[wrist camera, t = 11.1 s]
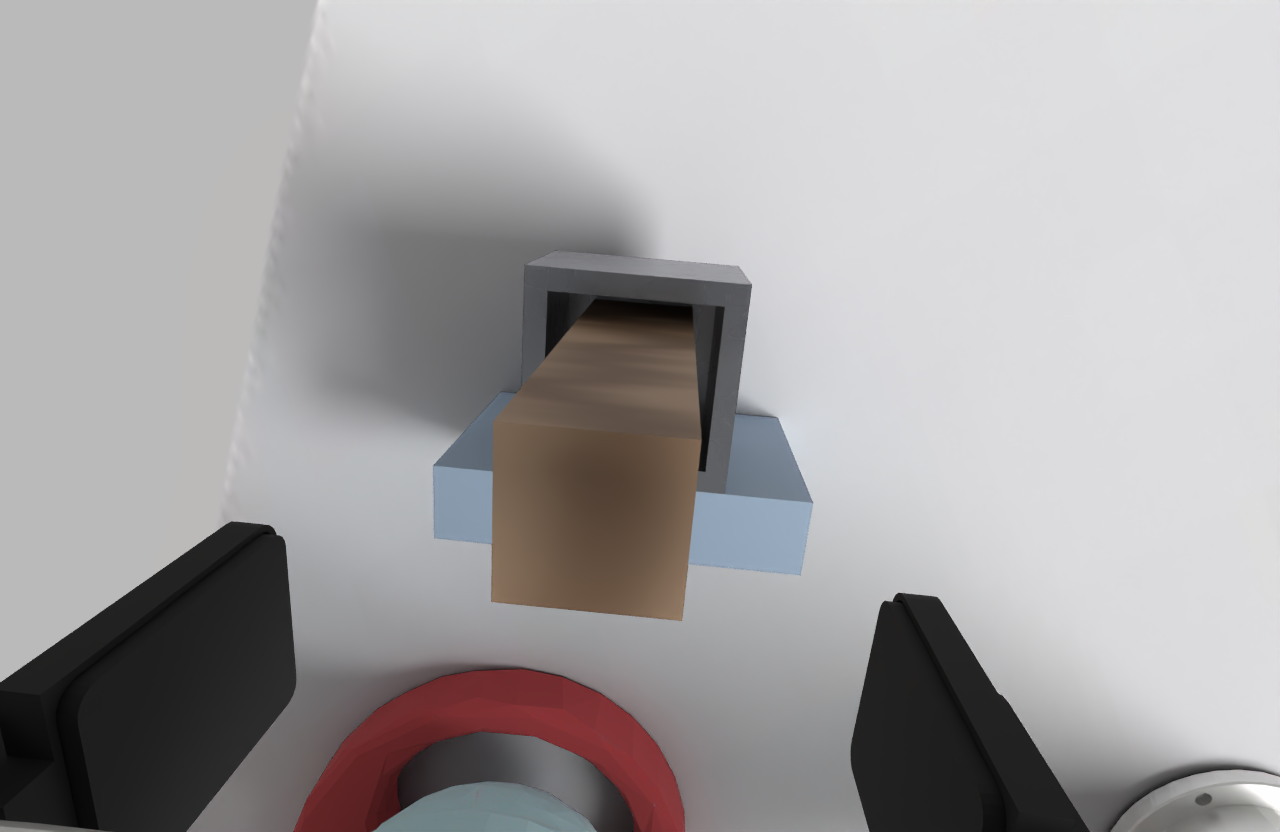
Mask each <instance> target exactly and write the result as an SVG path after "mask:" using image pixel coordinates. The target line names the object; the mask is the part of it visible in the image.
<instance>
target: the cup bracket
mask: <svg viewBox="0 0 1280 832" xmlns="http://www.w3.org/2000/svg"><path fill="white" fill-rule="evenodd" d="M751 288H752V284H751V283H750V281H749V280H748V279H747V277H746V276H745V274H744V273H743V272H742V270H741V269H740V268H739V266H730V265H719V264H707V263H696V262H684V261H673V260H661V259H650V258H638V257H627V256H615V255H604V254H592V253H581V252H570V251H558V250H556V251H553V252H551V253H549V254H547V255H545V256H543V257H540V258H538V259H536V260H534V261H532V262H530V263H527V264H525V273H524V308H523V344H522V380H521V387H522V386H523V385H524V383H525V382H526V381H527V380H528V379H529V377H530V376H531V375H532V374H533V373H534V371H535V370H536V369H537V368H538V367H539V365H540V364H541V363H542V362H543V361H544V359H545V358H546V357H547V356H548V355H549V353H550V352H551V351H552V350H553V349H554V347H555V346H556V345H557V344H558V343H559V341H560V340H561V339H562V338H563V337H564V335H565V334H566V333H567V332H568V331H569V329H570V328H571V327H572V326H573V325H574V323H575V322H576V321H577V320H578V319H579V317H580V316H581V315H582V314H583V313H584V311H585V310H586V309H587V308H588V307H589V305H590V304H591V303H592V302H593V300H594V299H602V300H613V301H625V302H637V303H649V304H661V305H673V306H685V307H692V309H693V324H694V338H695V353H696V367H697V381H698V396H699V410H700V425H701V439H702V441H701V450H700V459H699V468H698V478H697V487H696V492H706V493H717V494H725V491H726V483H727V475H728V467H729V460H730V452H731V444H732V436H733V429H734V421H735V413H736V405H737V397H738V390H739V382H740V374H741V366H742V358H743V351H744V343H745V335H746V327H747V320H748V312H749V304H750V296H751Z"/></svg>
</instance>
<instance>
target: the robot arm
mask: <svg viewBox="0 0 1280 832" xmlns="http://www.w3.org/2000/svg"><path fill="white" fill-rule="evenodd" d="M295 686H296V666H295V654H294V642H293V630H292V617H291V605H290V593H289V581H288V569H287V556H286V545H285V541H284V539H283V537H281V536H279V535H276V532H275V530H274V528H273V527H271V526H270V525H262V524H253V523H244V522H230V523H228V524H226V525H225V526H223V527H222V528H220V529H219V530H217V531H216V532H215V533H213V534H212V535H210V536H209V537H207V538H206V539H205V540H203V541H202V542H200V543H199V544H197V545H196V546H195V547H193V548H192V549H190V550H189V551H188V552H186V553H185V554H183V555H182V556H180V557H179V558H178V559H176V560H175V561H173V562H172V563H170V564H169V565H167V566H166V567H165V568H163V569H162V570H160V571H159V572H157V573H156V574H155V575H153V576H152V577H150V578H149V579H147V580H146V581H145V582H143V583H142V584H140V585H139V586H137V587H136V588H135V589H133V590H132V591H130V592H129V593H128V594H126V595H125V596H123V597H122V598H120V599H119V600H118V601H116V602H115V603H113V604H112V605H110V606H109V607H107V608H106V609H105V610H103V611H102V612H100V613H99V614H97V615H96V616H95V617H93V618H92V619H90V620H89V621H87V622H86V623H85V624H83V625H82V626H81V627H79V628H78V629H76V630H75V631H73V632H72V633H70V634H69V635H68V636H66V637H65V638H63V639H62V640H60V641H59V642H58V643H56V644H55V645H53V646H52V647H50V648H49V649H47V650H46V651H45V652H43V653H42V654H40V655H39V656H38V657H36V658H35V659H33V660H32V661H30V662H29V663H27V664H26V665H25V666H23V667H22V668H20V669H19V670H18V671H16V672H15V673H13V674H12V675H10V676H9V677H8V678H6V679H5V680H3V681H2V682H0V832H186V831H187V830H188V829H189V827H190V826H191V825H192V824H193V822H194V821H195V820H196V819H197V817H198V816H199V815H200V814H201V812H202V811H203V810H204V809H205V807H206V806H207V805H208V804H209V802H210V801H211V800H212V799H213V797H214V796H215V795H216V794H217V792H218V791H219V790H220V789H221V787H222V786H223V785H224V784H225V782H226V781H227V780H228V779H229V777H230V776H231V775H232V773H233V772H234V771H235V770H236V768H237V767H238V766H239V765H240V763H241V762H242V761H243V760H244V758H245V757H246V756H247V755H248V753H249V752H250V751H251V750H252V748H253V747H254V746H255V745H256V743H257V742H258V741H259V740H260V738H261V737H262V736H263V735H264V733H265V732H266V731H267V730H268V728H269V727H270V726H271V725H272V723H273V722H274V721H275V720H276V718H277V717H278V716H279V715H280V713H281V712H282V711H283V710H284V708H285V707H286V706H287V705H288V703H289V702H290V700H291V698H292V696H293V693H294V690H295ZM851 766H852V771H853V775H854V778H855V782H856V785H857V789H858V792H859V796H860V800H861V803H862V807H863V810H864V814H865V817H866V821H867V824H868V828H869V832H1089V830H1088V828H1087V827H1086V825H1085V824H1084V822H1083V820H1082V819H1081V817H1080V816H1079V814H1078V812H1077V811H1076V809H1075V808H1074V806H1073V804H1072V803H1071V801H1070V800H1069V798H1068V797H1067V795H1066V793H1065V792H1064V790H1063V789H1062V787H1061V785H1060V784H1059V782H1058V781H1057V779H1056V777H1055V776H1054V774H1053V773H1052V771H1051V769H1050V768H1049V766H1048V765H1047V763H1046V762H1045V760H1044V758H1043V757H1042V755H1041V754H1040V752H1039V750H1038V749H1037V747H1036V746H1035V744H1034V742H1033V741H1032V739H1031V738H1030V736H1029V734H1028V733H1027V731H1026V730H1025V728H1024V727H1023V725H1022V723H1021V722H1020V720H1019V719H1018V717H1017V715H1016V714H1015V712H1014V711H1013V709H1012V707H1011V706H1010V704H1009V703H1008V702H1007V700H1006V699H1005V698H1004V697H1003V696H1002V695H1000V694H998V693H997V691H996V690H995V688H994V686H993V685H992V683H991V681H990V680H989V678H988V677H987V675H986V673H985V672H984V670H983V669H982V667H981V665H980V664H979V662H978V660H977V659H976V657H975V656H974V654H973V652H972V651H971V649H970V647H969V646H968V644H967V643H966V641H965V639H964V638H963V636H962V635H961V633H960V631H959V630H958V628H957V626H956V625H955V623H954V622H953V620H952V618H951V617H950V615H949V614H948V612H947V610H946V609H945V607H944V605H943V604H942V602H941V601H940V600H939V599H938V597H933V596H924V595H915V594H905V593H898V594H896V595H895V597H894V599H893V602H890V601H884V602H883V603H882V605H881V607H880V611H879V615H878V620H877V625H876V629H875V634H874V639H873V644H872V648H871V653H870V658H869V662H868V667H867V672H866V677H865V681H864V686H863V691H862V695H861V700H860V705H859V710H858V714H857V719H856V724H855V728H854V733H853V738H852V743H851ZM1111 832H1280V777H1278V776H1275V775H1271V774H1267V773H1264V772H1257V771H1248V770H1218V771H1211V772H1205V773H1200V774H1194V775H1191V776H1188V777H1185V778H1182V779H1179V780H1175V781H1172V782H1170V783H1168V784H1166V785H1164V786H1162V787H1160V788H1158V789H1156V790H1154V791H1152V792H1151V793H1149V794H1148V795H1146V796H1145V797H1143V798H1142V799H1140V800H1139V801H1137V802H1136V803H1135V804H1134V805H1133V806H1132V807H1131V808H1129V809H1128V810H1127V811H1126V812H1125V813H1124V814H1123V815H1122V816H1121V818H1120V819H1119V820H1118V822H1117V823H1116V824H1115V826H1114V827H1113V829H1112V830H1111Z"/></svg>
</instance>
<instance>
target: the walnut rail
mask: <svg viewBox="0 0 1280 832" xmlns="http://www.w3.org/2000/svg"><path fill="white" fill-rule="evenodd" d="M701 441H702V439H701V425H700V410H699V396H698V381H697V367H696V353H695V338H694V324H693V309H692V307H685V306H673V305H661V304H649V303H637V302H625V301H613V300H602V299H594V300H593V302H592V303H591V304H590V305H589V307H588V308H587V309H586V310H585V311H584V313H583V314H582V315H581V316H580V317H579V319H578V320H577V321H576V322H575V323H574V325H573V326H572V327H571V328H570V329H569V331H568V332H567V333H566V334H565V335H564V337H563V338H562V339H561V340H560V341H559V343H558V344H557V345H556V346H555V347H554V349H553V350H552V351H551V352H550V353H549V355H548V356H547V357H546V358H545V359H544V361H543V362H542V363H541V364H540V365H539V367H538V368H537V369H536V370H535V371H534V373H533V374H532V375H531V376H530V377H529V379H528V380H527V381H526V382H525V383H524V385H523V386H522V387H521V388H520V389H519V391H518V392H517V393H516V394H515V395H514V397H513V398H512V399H511V400H510V401H509V403H508V404H507V405H506V406H505V408H504V409H503V410H502V411H501V412H500V414H499V415H498V416H497V417H496V418H495V420H494V421H493V485H492V592H491V602H497V603H507V604H517V605H527V606H537V607H547V608H558V609H568V610H578V611H588V612H598V613H608V614H618V615H628V616H638V617H648V618H658V619H668V620H678V621H682V617H683V607H684V598H685V589H686V580H687V570H688V561H689V552H690V542H691V533H692V524H693V515H694V505H695V496H696V487H697V478H698V468H699V459H700V450H701Z"/></svg>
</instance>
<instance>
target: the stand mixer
mask: <svg viewBox="0 0 1280 832" xmlns="http://www.w3.org/2000/svg"><path fill="white" fill-rule="evenodd" d="M480 731H481V732H492V733H503V734H514V735H525V736H535V737H538V738H540V739H542V740H545V741H547V742H549V743H552V744H554V745H556V746H559V747H561V748H564V749H566V750H568V751H571V752H573V753H575V754H578V755H580V756H581V757H583V758H585V759H586V760H588V761H590V762H591V763H592V764H593V765H594V766H595V767H596V768H598V769H599V770H600V771H601V772H602V773H603V774H604V775H605V776H606V777H607V778H608V779H609V780H610V781H611V782H612V783H613V784H614V785H615V786H616V787H617V788H618V790H619V792H620V794H621V795H622V797H623V799H624V801H625V802H626V804H627V806H628V808H629V809H630V811H631V813H632V815H633V823H634V832H685V816H684V808H683V805H682V801H681V797H680V794H679V790H678V786H677V783H676V779H675V776H674V774H673V772H672V771H671V769H670V767H669V765H668V763H667V761H666V759H665V758H664V756H663V754H662V752H661V750H660V748H659V747H658V745H657V744H656V743H655V742H654V740H653V739H652V738H651V737H650V736H649V735H648V734H647V732H646V731H645V730H644V729H643V728H642V727H641V726H640V724H639V723H638V722H637V721H636V720H635V719H634V718H633V717H632V716H631V715H629V714H628V713H627V712H625V711H624V710H623V709H621V708H620V707H618V706H617V705H616V704H614V703H613V702H612V701H610V700H609V699H608V698H606V697H605V696H603V695H602V694H600V693H598V692H595V691H593V690H591V689H589V688H586V687H584V686H582V685H580V684H577V683H575V682H573V681H571V680H568V679H566V678H564V677H560V676H555V675H550V674H545V673H540V672H535V671H530V670H525V669H509V670H485V671H470V672H465V673H459V674H454V675H449V676H443V677H440V678H438V679H435V680H433V681H431V682H429V683H426V684H424V685H422V686H420V687H417V688H415V689H413V690H411V691H408V692H406V693H404V694H403V695H401V696H399V697H397V698H396V699H394V700H392V701H390V702H389V703H387V704H385V705H383V706H382V707H380V708H378V709H377V710H376V711H375V712H374V713H373V714H372V715H370V716H369V717H368V718H367V719H366V720H365V721H364V722H363V723H362V724H361V725H360V726H359V727H358V728H357V729H356V730H355V731H354V732H353V733H351V734H350V735H349V736H348V737H347V738H346V739H345V740H344V741H343V743H342V744H341V746H340V747H339V749H338V750H337V752H336V753H335V755H334V756H333V758H332V759H331V761H330V762H329V764H328V766H327V767H326V769H325V771H324V772H323V774H322V776H321V777H320V779H319V780H318V782H317V784H316V785H315V787H314V789H313V790H312V792H311V794H310V795H309V797H308V798H307V800H306V803H305V805H304V807H303V810H302V812H301V815H300V817H299V819H298V822H297V824H296V827H295V829H294V831H293V832H597V831H596V830H595V829H594V827H593V826H592V824H591V823H590V821H589V820H588V819H587V818H585V817H584V816H582V815H581V814H580V813H578V812H577V811H575V810H574V809H572V808H571V807H569V806H568V805H566V804H565V803H563V802H562V801H561V800H559V799H558V798H556V797H555V796H553V795H552V794H550V793H549V792H545V791H542V790H539V789H536V788H533V787H530V786H526V785H523V784H520V783H508V782H495V781H485V782H478V783H471V784H463V785H456V786H451V787H449V788H446V789H443V790H441V791H438V792H435V793H433V794H430V795H427V796H425V797H423V798H421V799H419V800H418V801H416V802H415V803H413V804H412V805H410V806H408V807H407V808H405V809H404V810H401V806H400V802H399V798H398V776H399V774H400V772H401V770H402V768H403V767H404V766H405V765H406V764H407V763H408V762H409V761H410V760H411V759H412V758H413V757H414V756H415V755H416V754H417V753H419V752H421V751H422V750H424V749H426V748H427V747H429V746H431V745H432V744H434V743H436V742H437V741H442V740H446V739H450V738H455V737H459V736H463V735H467V734H472V733H476V732H480Z"/></svg>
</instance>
